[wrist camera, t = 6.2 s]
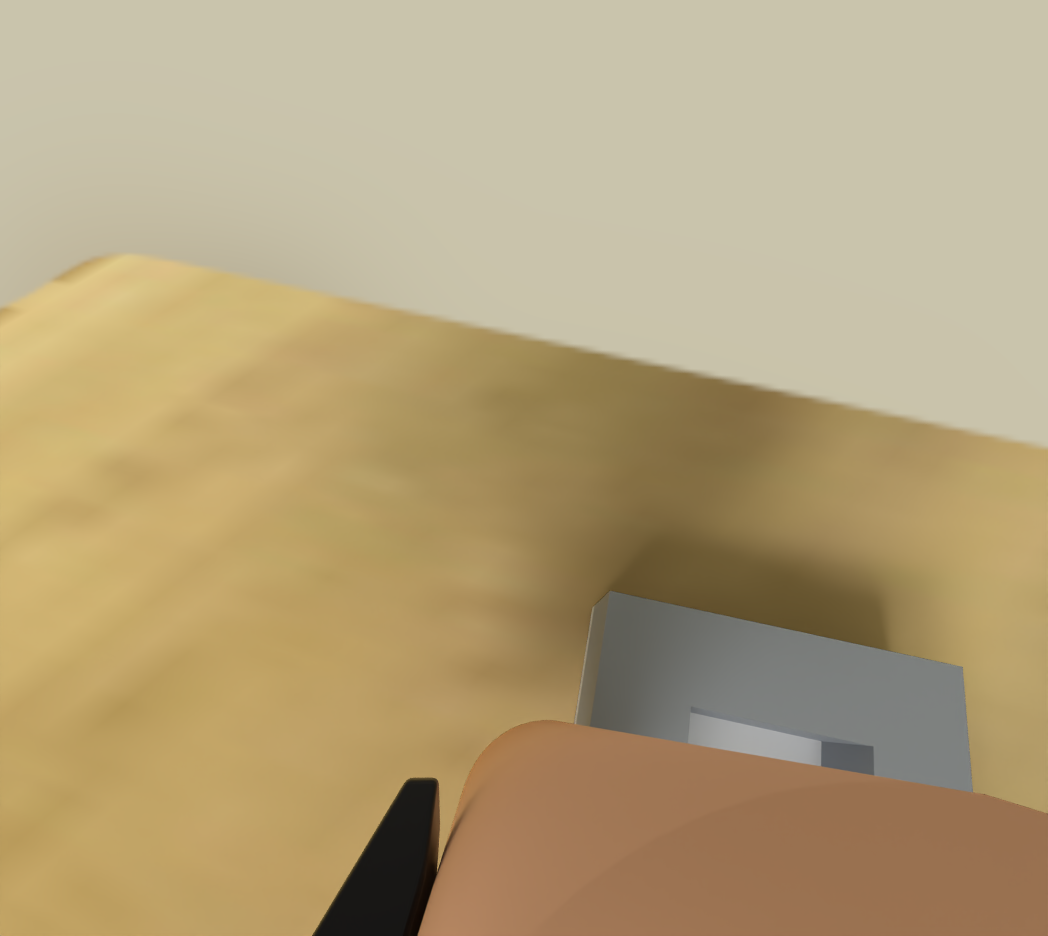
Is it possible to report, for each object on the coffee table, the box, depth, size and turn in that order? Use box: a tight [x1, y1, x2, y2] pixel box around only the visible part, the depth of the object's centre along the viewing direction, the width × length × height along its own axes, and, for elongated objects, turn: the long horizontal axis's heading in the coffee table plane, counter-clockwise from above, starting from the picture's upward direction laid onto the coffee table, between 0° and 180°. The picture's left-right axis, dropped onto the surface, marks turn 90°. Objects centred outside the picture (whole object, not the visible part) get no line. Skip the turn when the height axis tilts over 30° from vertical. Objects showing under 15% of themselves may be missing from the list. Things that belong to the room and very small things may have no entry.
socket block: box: [574, 591, 973, 792], centre depth 18 cm, size 12×12×4 cm
